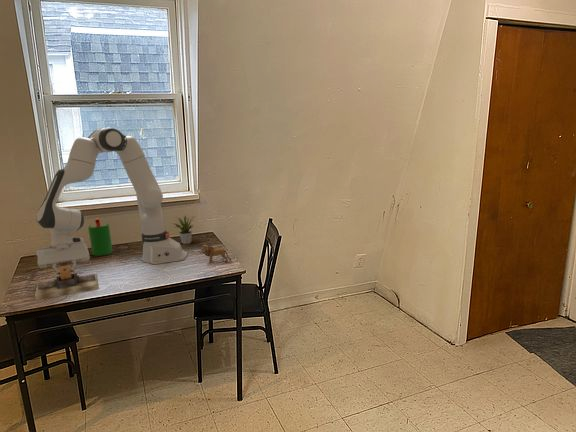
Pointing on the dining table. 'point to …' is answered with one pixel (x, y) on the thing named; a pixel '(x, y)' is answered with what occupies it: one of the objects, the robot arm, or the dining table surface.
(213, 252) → the lion figurine
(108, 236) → the motor
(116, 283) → the dining table surface
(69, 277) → the block
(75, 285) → the base
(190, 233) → the house plant
